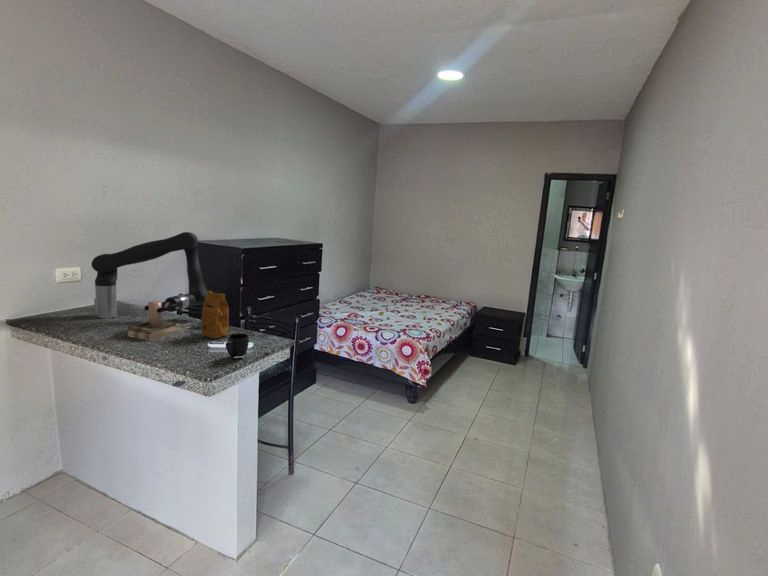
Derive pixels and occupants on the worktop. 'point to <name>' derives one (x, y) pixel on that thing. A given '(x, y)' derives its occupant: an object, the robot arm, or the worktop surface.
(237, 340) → the mug
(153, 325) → the canister
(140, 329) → the wooden tray
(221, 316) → the coffee package
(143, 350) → the worktop surface
